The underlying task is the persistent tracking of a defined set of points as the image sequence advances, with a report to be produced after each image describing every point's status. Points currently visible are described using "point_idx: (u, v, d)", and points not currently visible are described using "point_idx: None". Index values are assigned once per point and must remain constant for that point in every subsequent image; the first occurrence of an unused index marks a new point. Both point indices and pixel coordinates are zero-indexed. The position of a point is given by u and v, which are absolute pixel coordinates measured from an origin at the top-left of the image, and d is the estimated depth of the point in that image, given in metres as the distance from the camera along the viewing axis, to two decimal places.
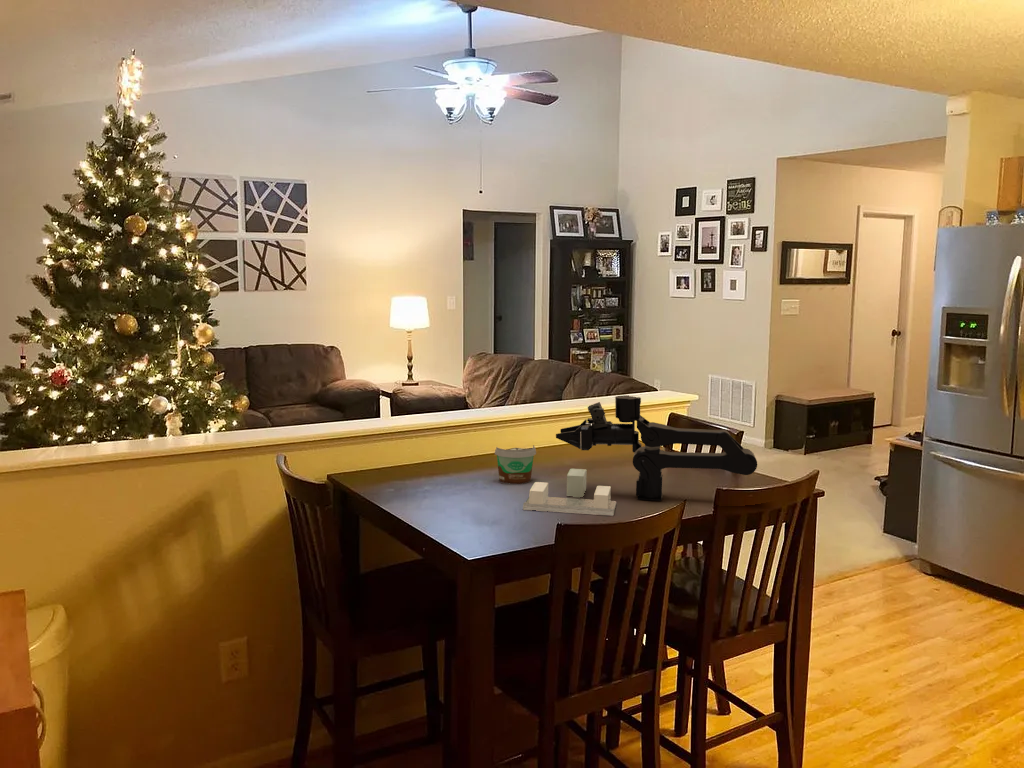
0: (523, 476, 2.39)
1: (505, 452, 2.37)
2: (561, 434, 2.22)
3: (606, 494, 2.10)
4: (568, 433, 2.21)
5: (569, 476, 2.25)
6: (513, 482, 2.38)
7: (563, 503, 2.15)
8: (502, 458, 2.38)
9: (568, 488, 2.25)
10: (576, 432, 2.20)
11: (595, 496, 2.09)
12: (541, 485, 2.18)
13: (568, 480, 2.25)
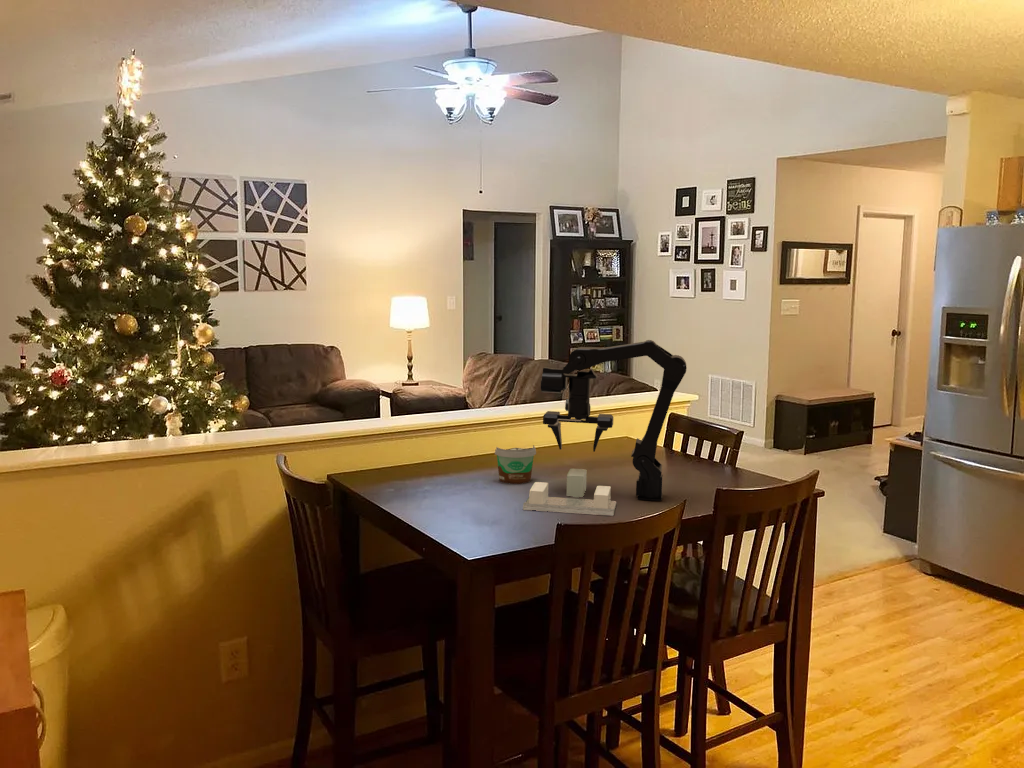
0: (523, 476, 2.39)
1: (505, 452, 2.37)
2: None
3: (606, 494, 2.10)
4: None
5: (569, 476, 2.25)
6: (513, 482, 2.38)
7: (563, 503, 2.15)
8: (502, 458, 2.38)
9: (568, 488, 2.25)
10: None
11: (595, 496, 2.09)
12: (541, 485, 2.18)
13: (568, 480, 2.25)
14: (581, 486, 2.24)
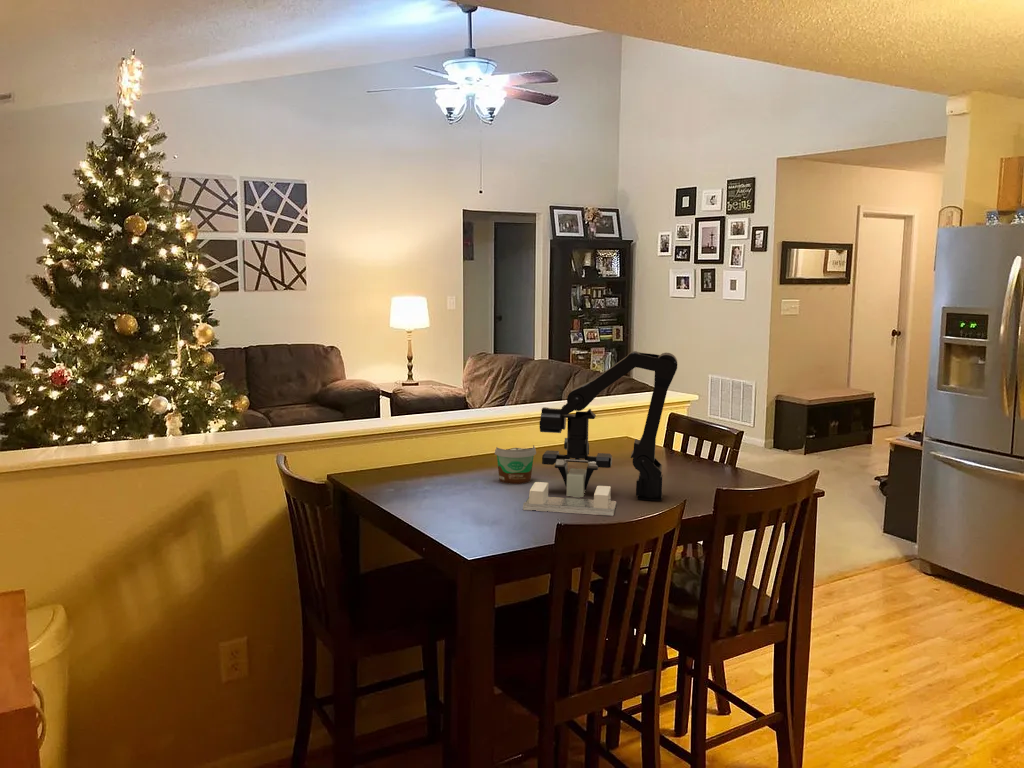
0: (523, 476, 2.39)
1: (505, 452, 2.37)
2: None
3: (606, 494, 2.10)
4: None
5: (569, 476, 2.25)
6: (513, 482, 2.38)
7: (563, 503, 2.15)
8: (502, 458, 2.38)
9: (568, 488, 2.25)
10: None
11: (595, 496, 2.09)
12: (541, 485, 2.18)
13: (568, 480, 2.25)
14: (581, 486, 2.24)
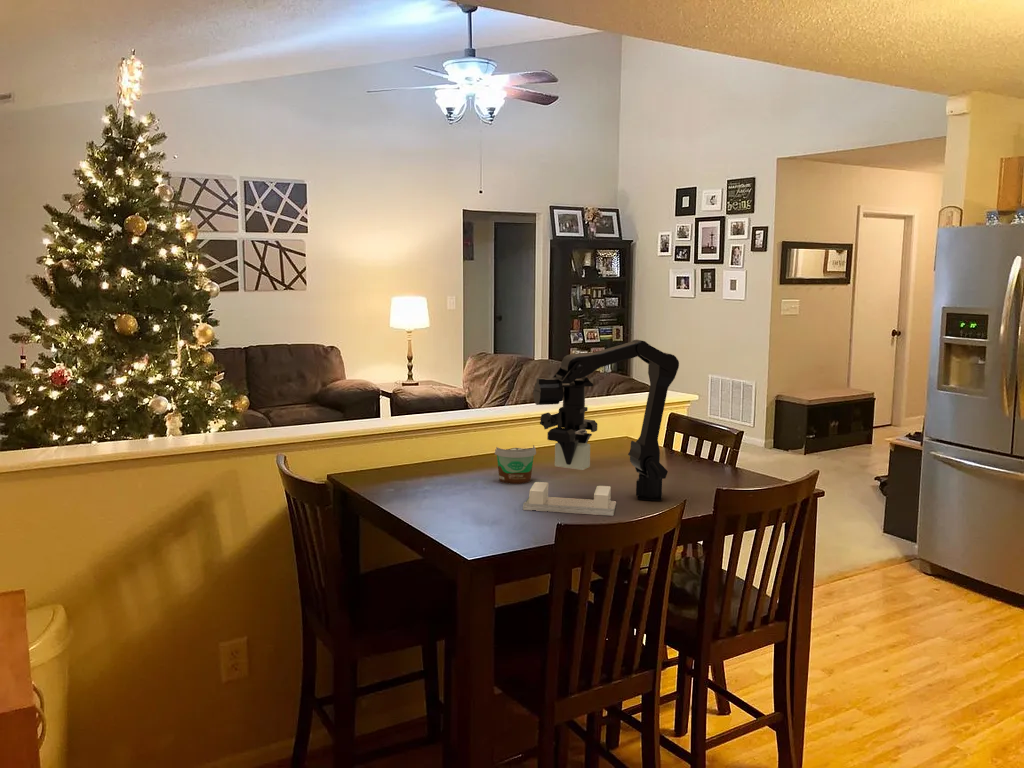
0: (523, 476, 2.39)
1: (505, 452, 2.37)
2: (565, 458, 2.15)
3: (606, 494, 2.10)
4: (563, 451, 2.14)
5: (584, 447, 2.14)
6: (513, 482, 2.38)
7: (563, 503, 2.15)
8: (502, 458, 2.38)
9: (583, 460, 2.14)
10: (561, 443, 2.13)
11: (595, 496, 2.09)
12: (541, 485, 2.18)
13: (583, 452, 2.13)
14: (589, 455, 2.17)
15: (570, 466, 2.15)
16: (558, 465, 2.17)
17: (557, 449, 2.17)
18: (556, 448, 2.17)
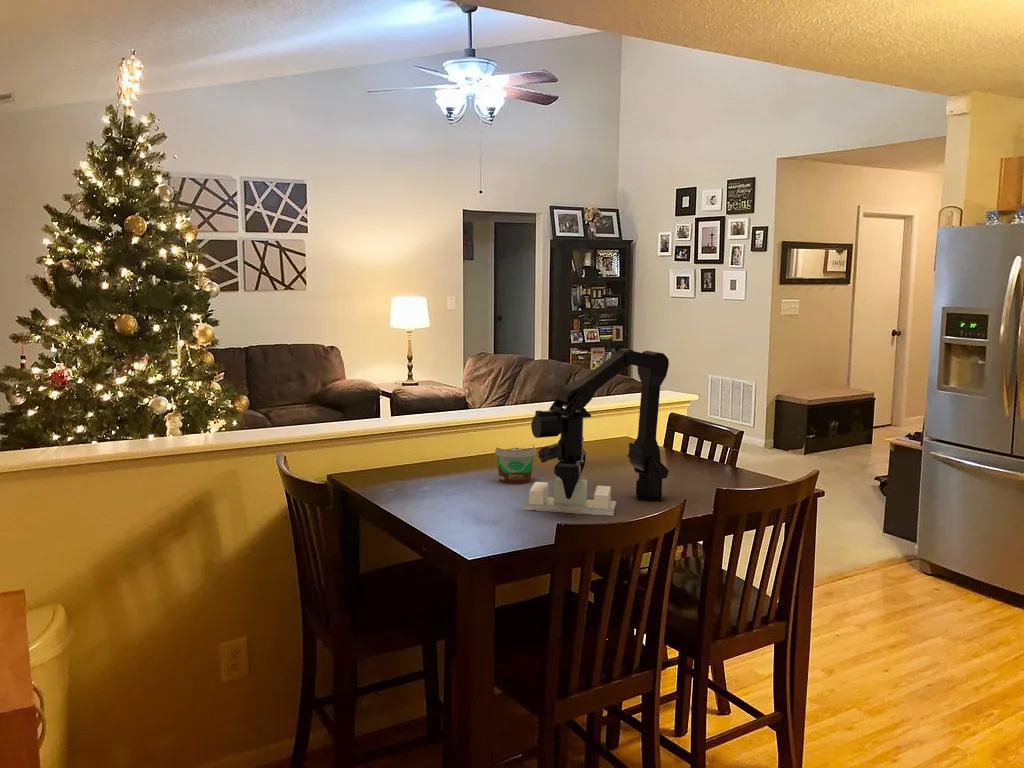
0: (523, 476, 2.39)
1: (505, 452, 2.37)
2: (566, 493, 2.10)
3: (606, 494, 2.10)
4: (564, 486, 2.09)
5: (585, 484, 2.12)
6: (513, 482, 2.38)
7: None
8: (502, 458, 2.38)
9: (585, 497, 2.13)
10: (562, 478, 2.08)
11: (595, 496, 2.09)
12: (541, 485, 2.18)
13: (585, 488, 2.12)
14: (586, 490, 2.16)
15: (571, 504, 2.13)
16: (557, 504, 2.14)
17: (556, 487, 2.13)
18: (555, 487, 2.13)
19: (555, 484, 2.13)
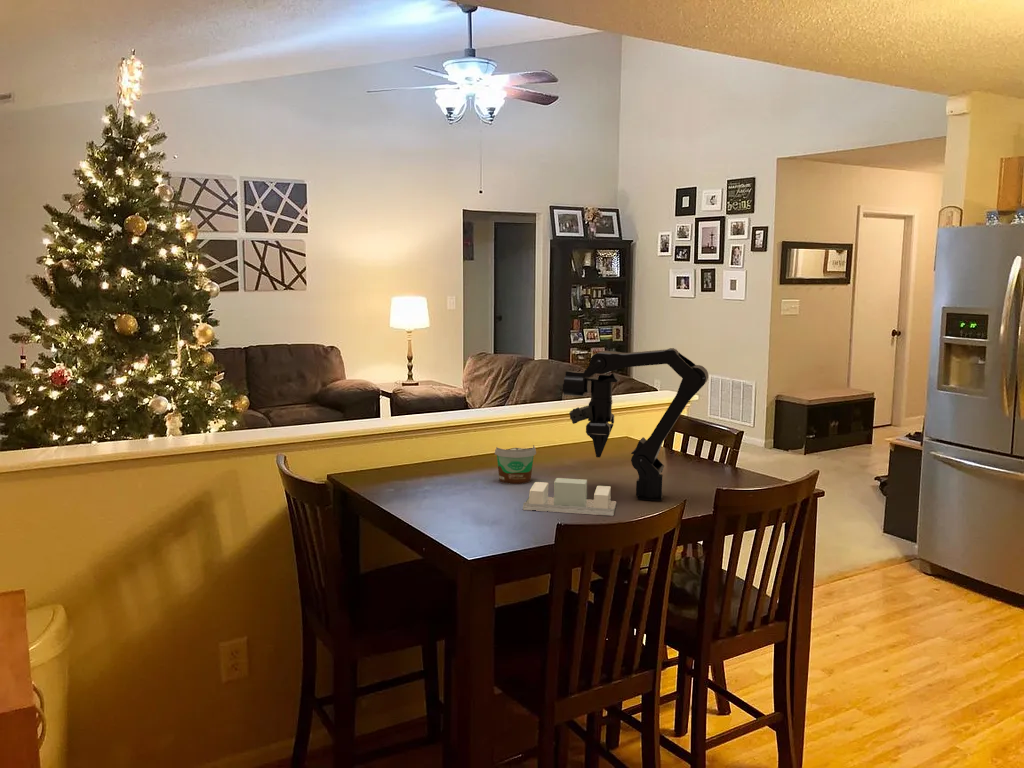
0: (523, 476, 2.39)
1: (505, 452, 2.37)
2: (596, 451, 2.23)
3: (606, 494, 2.10)
4: (594, 445, 2.22)
5: (585, 484, 2.12)
6: (513, 482, 2.38)
7: None
8: (502, 458, 2.38)
9: (585, 497, 2.13)
10: (593, 437, 2.21)
11: (595, 496, 2.09)
12: (541, 485, 2.18)
13: (585, 488, 2.12)
14: (586, 490, 2.16)
15: (571, 504, 2.13)
16: (557, 504, 2.14)
17: (556, 487, 2.13)
18: (555, 487, 2.13)
19: (555, 484, 2.13)
